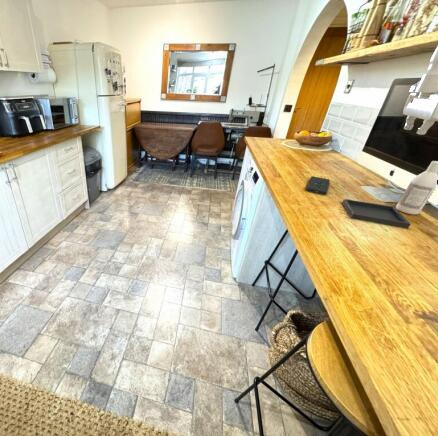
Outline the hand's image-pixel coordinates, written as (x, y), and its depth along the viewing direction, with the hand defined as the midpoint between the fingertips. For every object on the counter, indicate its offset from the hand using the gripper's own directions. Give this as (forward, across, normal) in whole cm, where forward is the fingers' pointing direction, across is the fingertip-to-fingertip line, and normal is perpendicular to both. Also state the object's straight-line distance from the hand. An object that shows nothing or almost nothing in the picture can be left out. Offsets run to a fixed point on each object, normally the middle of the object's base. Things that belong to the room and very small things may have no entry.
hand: (413, 131), depth 83 cm
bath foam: (+30, +2, -11) cm, 32 cm away
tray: (+30, -8, +3) cm, 31 cm away
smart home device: (+29, +16, +18) cm, 38 cm away
